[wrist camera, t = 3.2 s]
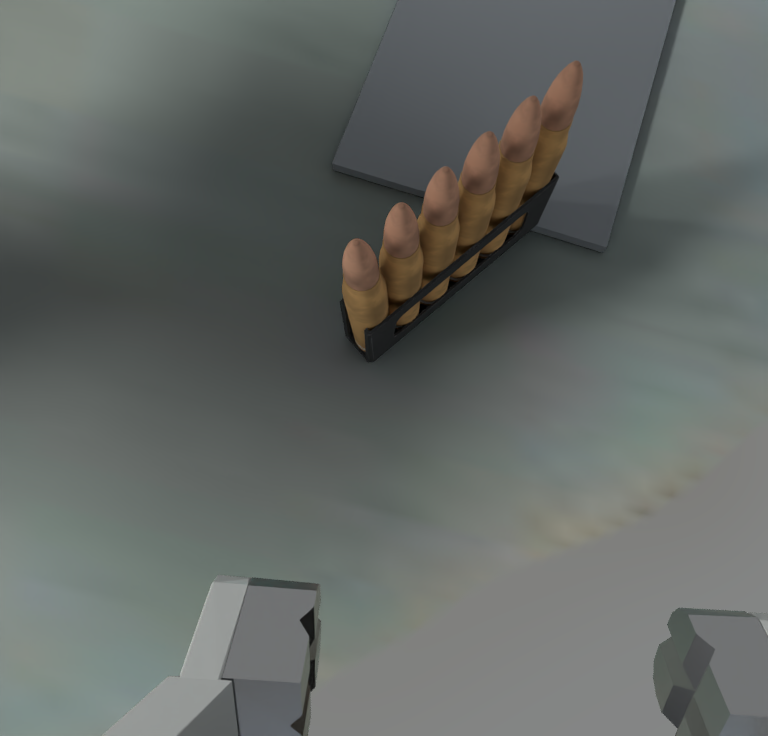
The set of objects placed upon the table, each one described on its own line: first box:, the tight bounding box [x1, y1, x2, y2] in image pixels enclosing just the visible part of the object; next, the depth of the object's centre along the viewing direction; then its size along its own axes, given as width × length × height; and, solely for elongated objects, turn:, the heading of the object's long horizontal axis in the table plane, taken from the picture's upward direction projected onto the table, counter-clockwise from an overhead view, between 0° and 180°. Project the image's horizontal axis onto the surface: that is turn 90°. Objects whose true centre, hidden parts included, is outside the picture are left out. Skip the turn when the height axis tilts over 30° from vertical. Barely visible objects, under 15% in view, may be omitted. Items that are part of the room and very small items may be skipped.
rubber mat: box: [332, 0, 676, 253], centre depth 35 cm, size 20×14×1 cm
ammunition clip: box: [340, 61, 583, 362], centre depth 25 cm, size 11×2×12 cm, turn 130°
